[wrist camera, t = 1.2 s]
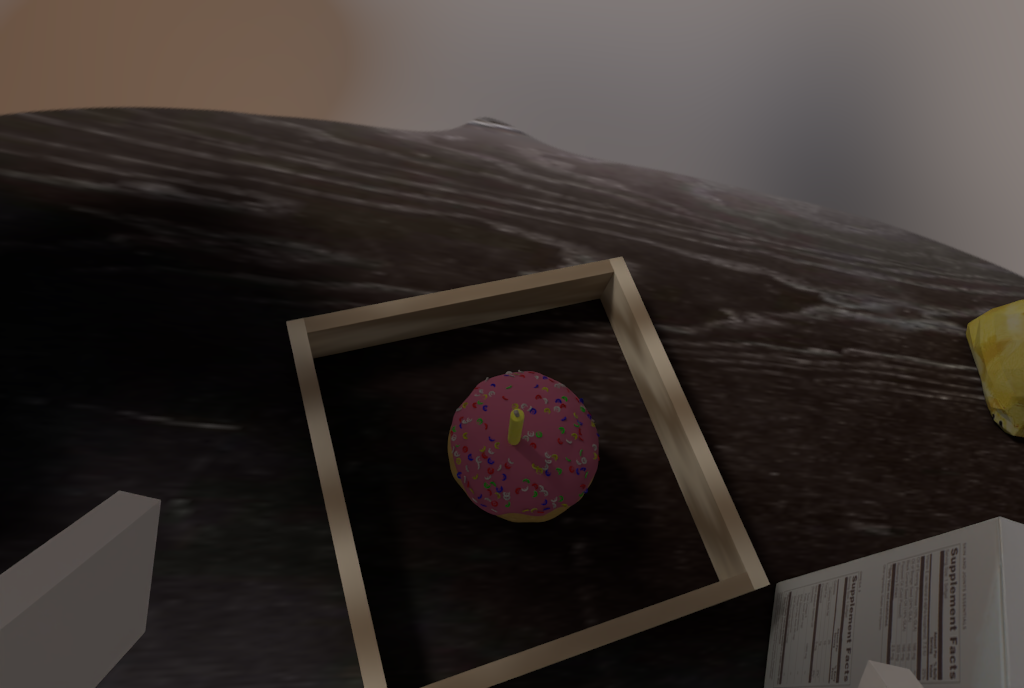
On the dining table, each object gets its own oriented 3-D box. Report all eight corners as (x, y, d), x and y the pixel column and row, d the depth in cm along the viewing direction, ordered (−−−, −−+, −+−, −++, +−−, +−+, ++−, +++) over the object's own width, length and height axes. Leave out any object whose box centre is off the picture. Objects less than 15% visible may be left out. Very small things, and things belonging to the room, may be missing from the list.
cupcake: (489, 567, 40) (528, 518, 29) (414, 444, 42) (425, 358, 32) (605, 490, 43) (678, 421, 33) (529, 380, 46) (573, 283, 35)
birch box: (292, 348, 44) (286, 321, 41) (607, 283, 50) (622, 256, 47) (374, 727, 35) (373, 729, 32) (741, 593, 42) (770, 584, 38)
